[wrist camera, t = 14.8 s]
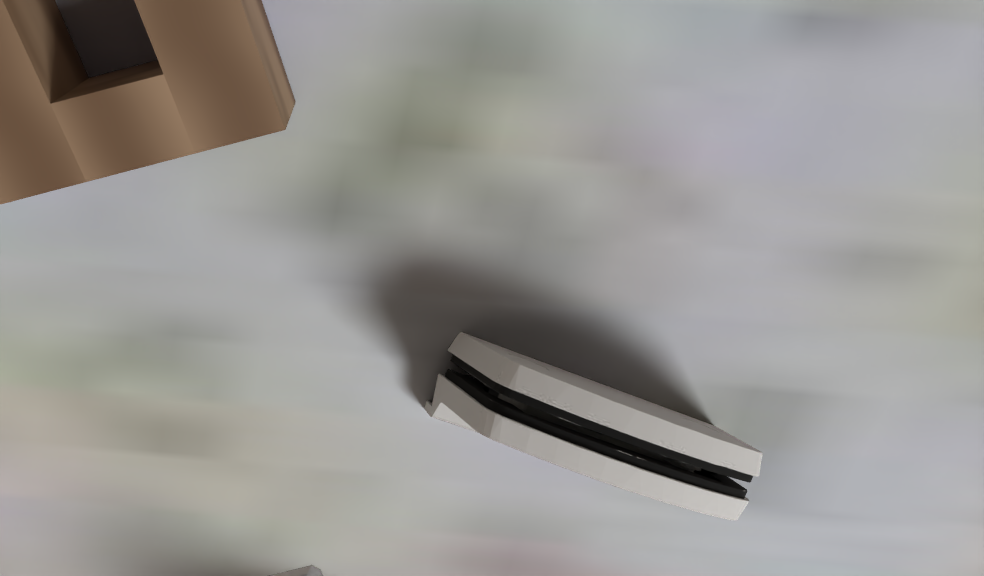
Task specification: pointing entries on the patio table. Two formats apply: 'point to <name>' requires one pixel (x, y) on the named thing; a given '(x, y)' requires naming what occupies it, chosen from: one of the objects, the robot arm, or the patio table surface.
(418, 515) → the patio table surface
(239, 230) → the patio table surface
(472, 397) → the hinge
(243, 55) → the hole block
